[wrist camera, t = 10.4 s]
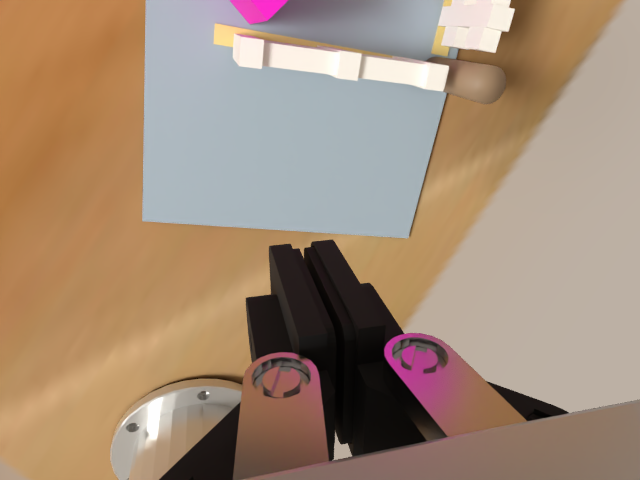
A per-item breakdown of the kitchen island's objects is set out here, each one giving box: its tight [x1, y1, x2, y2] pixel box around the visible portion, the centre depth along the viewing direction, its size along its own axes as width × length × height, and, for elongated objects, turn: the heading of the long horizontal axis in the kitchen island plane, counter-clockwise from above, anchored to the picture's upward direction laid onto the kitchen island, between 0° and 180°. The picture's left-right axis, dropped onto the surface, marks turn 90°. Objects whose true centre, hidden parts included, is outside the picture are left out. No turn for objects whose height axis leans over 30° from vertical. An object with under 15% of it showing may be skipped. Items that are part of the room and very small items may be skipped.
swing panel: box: [233, 33, 449, 91], centre depth 23 cm, size 10×1×5 cm, turn 82°
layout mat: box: [143, 0, 459, 238], centre depth 27 cm, size 16×18×1 cm
